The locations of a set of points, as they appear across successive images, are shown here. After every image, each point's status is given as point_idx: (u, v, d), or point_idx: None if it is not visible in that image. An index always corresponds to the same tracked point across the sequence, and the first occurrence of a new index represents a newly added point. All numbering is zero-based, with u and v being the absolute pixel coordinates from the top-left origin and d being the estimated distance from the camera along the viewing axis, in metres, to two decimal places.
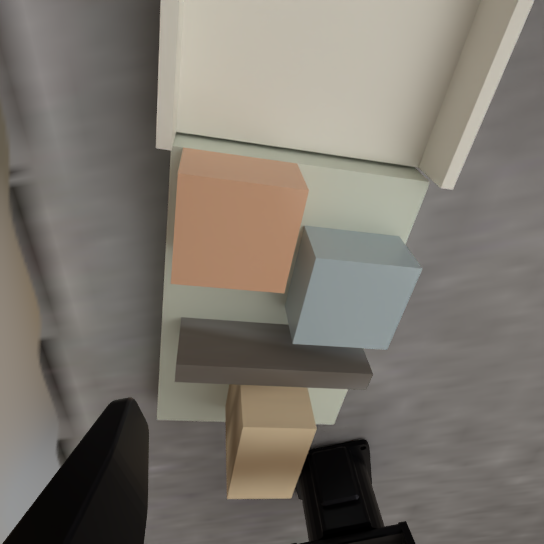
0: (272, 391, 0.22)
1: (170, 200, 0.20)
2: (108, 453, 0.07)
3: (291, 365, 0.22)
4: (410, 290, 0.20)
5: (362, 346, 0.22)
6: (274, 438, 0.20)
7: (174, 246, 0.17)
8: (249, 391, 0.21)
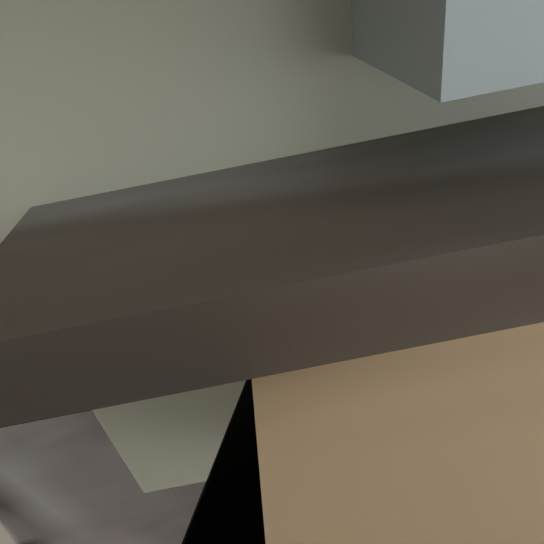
0: (404, 376, 0.05)
1: None
2: None
3: (459, 232, 0.04)
4: None
5: None
6: None
7: None
8: (294, 400, 0.05)
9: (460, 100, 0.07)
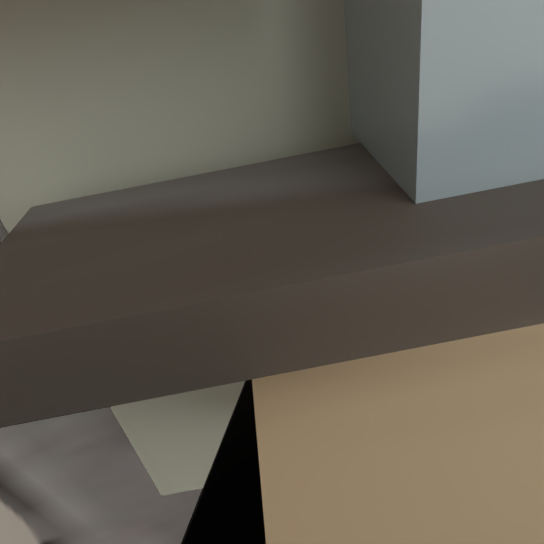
0: (406, 376, 0.05)
1: None
2: None
3: (459, 233, 0.04)
4: None
5: None
6: None
7: None
8: (294, 401, 0.05)
9: None
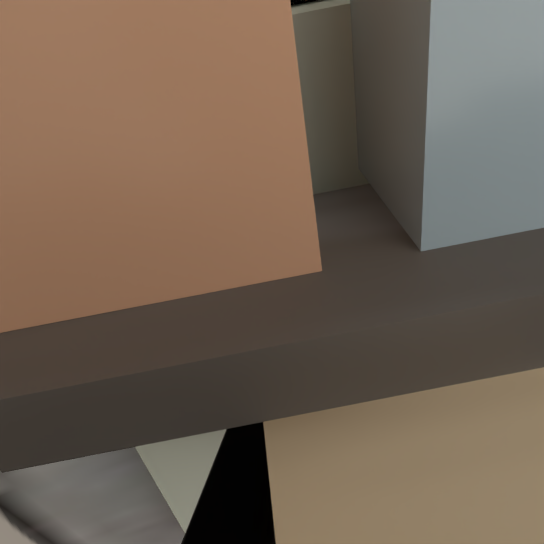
0: (406, 422, 0.05)
1: None
2: None
3: (455, 290, 0.05)
4: None
5: None
6: None
7: None
8: (303, 444, 0.05)
9: None
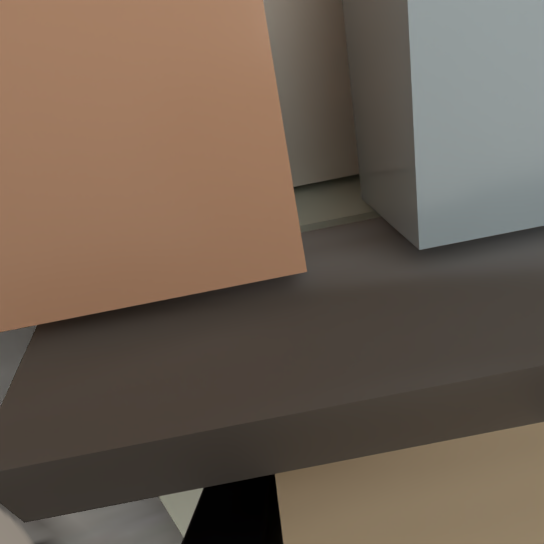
0: (412, 477, 0.05)
1: None
2: None
3: (463, 355, 0.05)
4: None
5: None
6: None
7: None
8: (314, 500, 0.05)
9: None
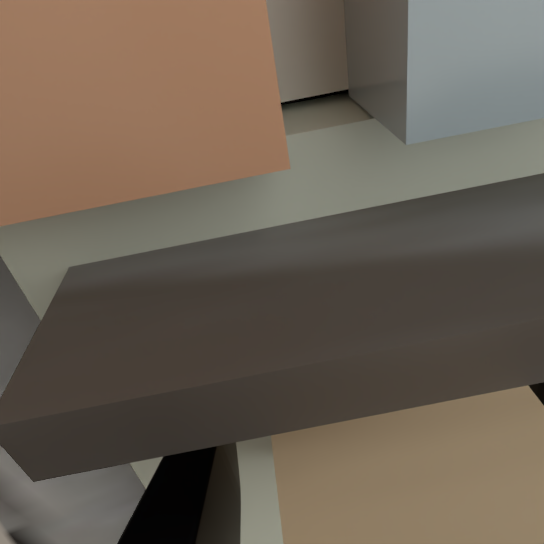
0: (400, 436, 0.05)
1: (41, 313, 0.09)
2: None
3: (445, 317, 0.05)
4: None
5: None
6: None
7: None
8: (307, 457, 0.05)
9: None
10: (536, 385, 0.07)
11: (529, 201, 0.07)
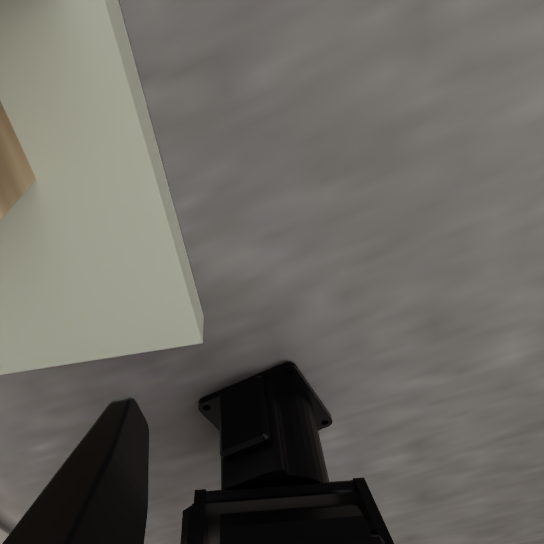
0: None
1: None
2: (108, 453, 0.07)
3: None
4: None
5: None
6: None
7: None
8: None
9: (49, 181, 0.16)
10: None
11: None
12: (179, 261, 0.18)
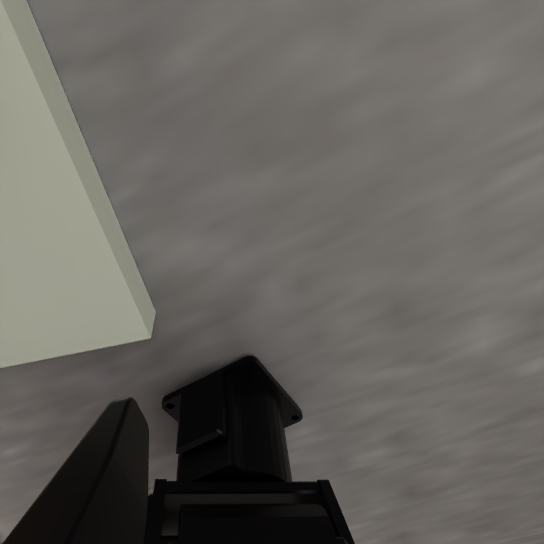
0: None
1: None
2: (108, 453, 0.07)
3: None
4: None
5: None
6: None
7: None
8: None
9: None
10: None
11: None
12: (114, 254, 0.18)
